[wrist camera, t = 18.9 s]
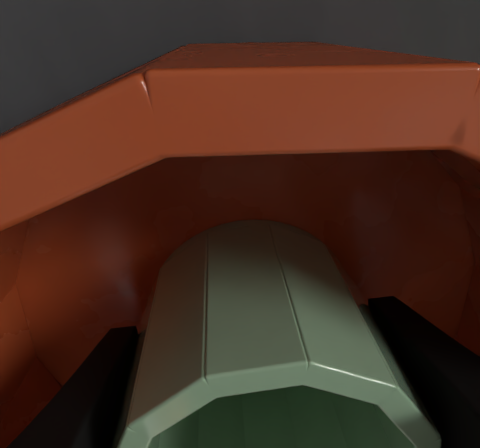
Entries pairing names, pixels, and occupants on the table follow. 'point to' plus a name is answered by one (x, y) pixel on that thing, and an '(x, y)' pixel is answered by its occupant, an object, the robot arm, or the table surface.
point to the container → (264, 352)
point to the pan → (234, 190)
